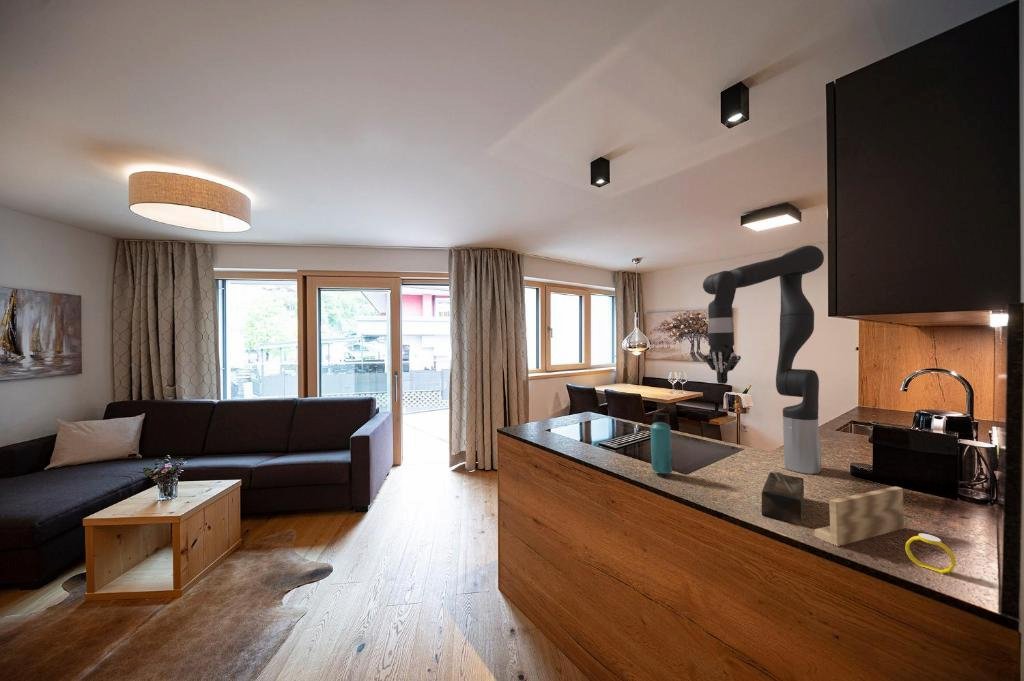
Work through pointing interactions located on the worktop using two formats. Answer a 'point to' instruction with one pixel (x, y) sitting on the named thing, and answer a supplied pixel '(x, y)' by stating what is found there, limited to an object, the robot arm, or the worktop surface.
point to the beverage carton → (783, 498)
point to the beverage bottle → (661, 445)
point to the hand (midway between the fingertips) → (722, 383)
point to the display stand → (863, 516)
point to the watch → (935, 541)
